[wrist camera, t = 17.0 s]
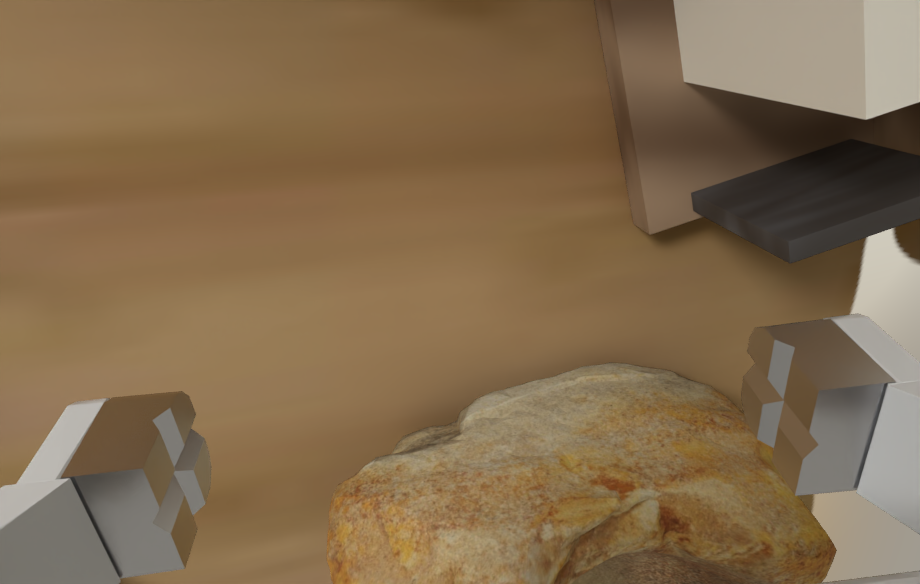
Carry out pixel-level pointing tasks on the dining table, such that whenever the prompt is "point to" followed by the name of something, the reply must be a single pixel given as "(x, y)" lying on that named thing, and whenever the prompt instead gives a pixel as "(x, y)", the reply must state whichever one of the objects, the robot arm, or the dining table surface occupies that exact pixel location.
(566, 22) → the dining table surface
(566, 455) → the rough brown rock
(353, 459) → the dining table surface
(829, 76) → the white rectangular block
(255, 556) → the dining table surface
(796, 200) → the shelf
